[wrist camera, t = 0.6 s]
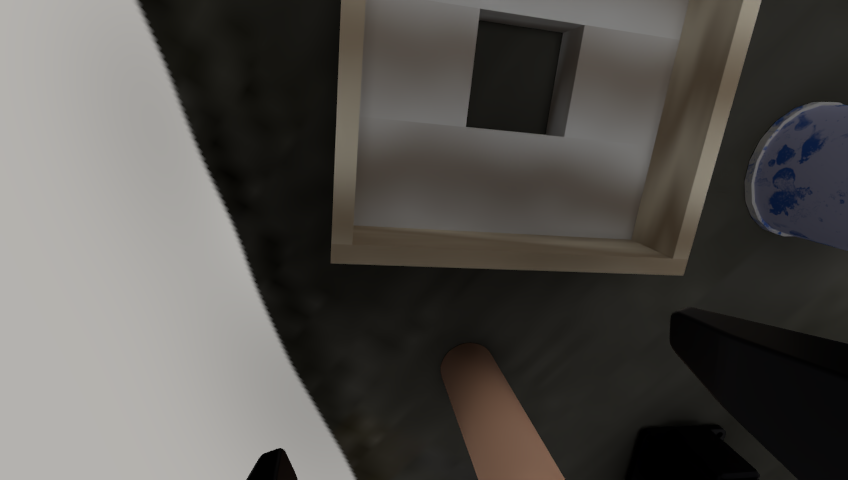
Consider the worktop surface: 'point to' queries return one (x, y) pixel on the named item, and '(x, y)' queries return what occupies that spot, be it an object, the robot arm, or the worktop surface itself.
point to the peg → (493, 419)
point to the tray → (533, 135)
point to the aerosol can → (803, 175)
